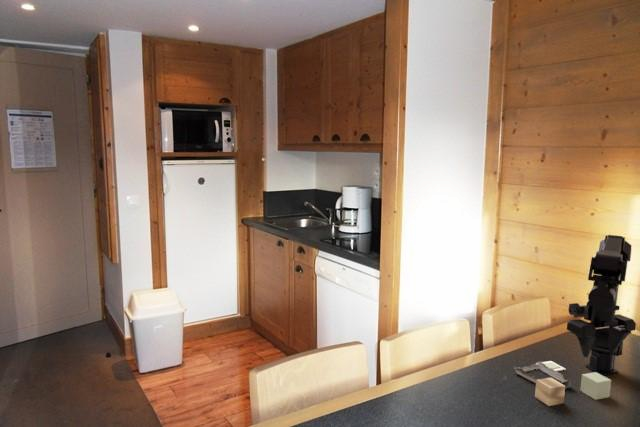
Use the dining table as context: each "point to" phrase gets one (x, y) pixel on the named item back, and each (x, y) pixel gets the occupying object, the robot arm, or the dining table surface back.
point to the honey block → (550, 391)
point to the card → (553, 366)
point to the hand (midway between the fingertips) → (598, 355)
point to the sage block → (595, 385)
